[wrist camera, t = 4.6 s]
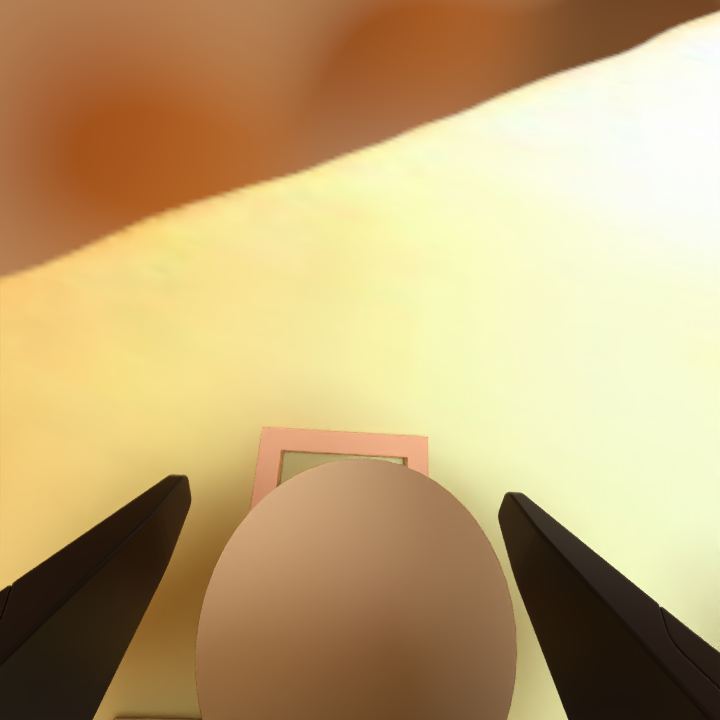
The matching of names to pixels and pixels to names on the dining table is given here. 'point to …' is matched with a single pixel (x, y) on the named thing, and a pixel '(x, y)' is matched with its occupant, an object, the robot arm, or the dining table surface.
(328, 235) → the dining table surface
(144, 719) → the board
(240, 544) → the birch pin
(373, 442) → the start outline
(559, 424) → the dining table surface
